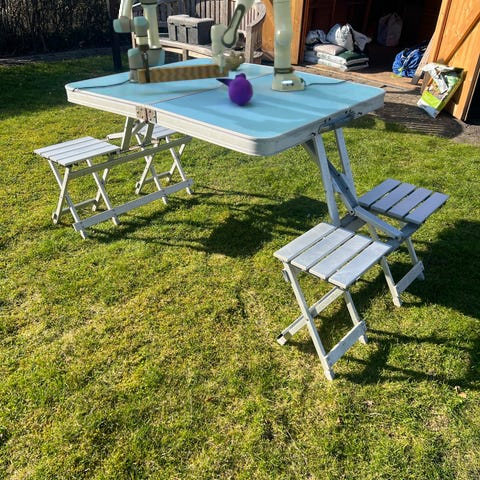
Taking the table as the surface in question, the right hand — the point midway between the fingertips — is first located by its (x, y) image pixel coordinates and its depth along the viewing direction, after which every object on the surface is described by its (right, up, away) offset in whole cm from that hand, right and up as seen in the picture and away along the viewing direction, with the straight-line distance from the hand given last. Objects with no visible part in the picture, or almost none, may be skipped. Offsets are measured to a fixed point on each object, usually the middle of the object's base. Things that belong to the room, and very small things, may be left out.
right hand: (219, 72), depth 306 cm
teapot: (+9, +26, +65) cm, 71 cm away
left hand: (-47, -10, -10) cm, 49 cm away
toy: (+12, -30, -30) cm, 44 cm away
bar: (-23, -7, -4) cm, 25 cm away
